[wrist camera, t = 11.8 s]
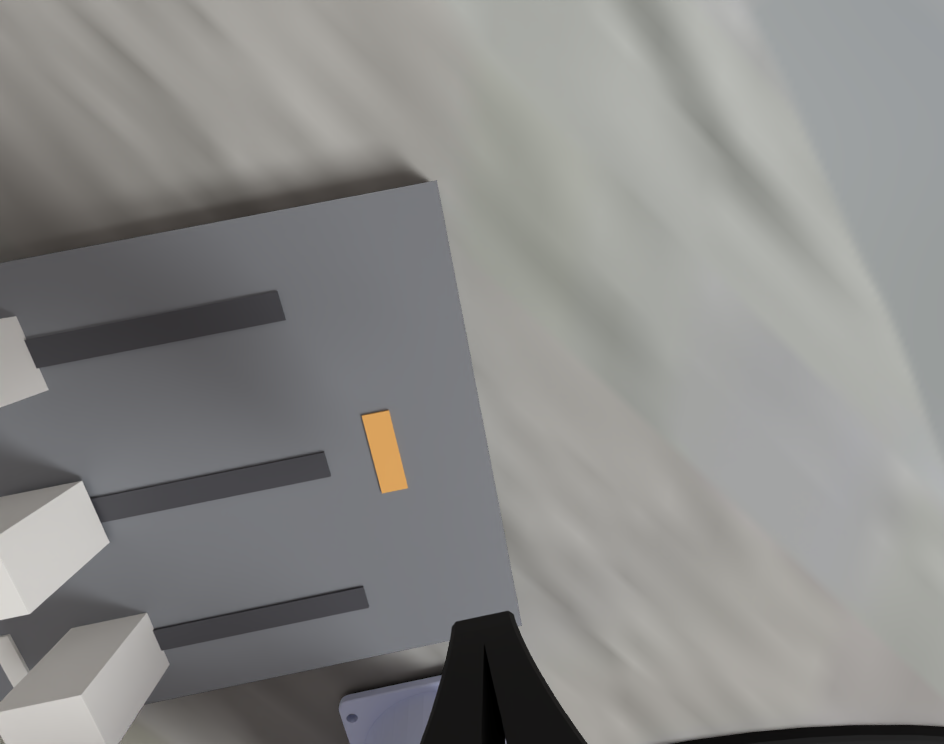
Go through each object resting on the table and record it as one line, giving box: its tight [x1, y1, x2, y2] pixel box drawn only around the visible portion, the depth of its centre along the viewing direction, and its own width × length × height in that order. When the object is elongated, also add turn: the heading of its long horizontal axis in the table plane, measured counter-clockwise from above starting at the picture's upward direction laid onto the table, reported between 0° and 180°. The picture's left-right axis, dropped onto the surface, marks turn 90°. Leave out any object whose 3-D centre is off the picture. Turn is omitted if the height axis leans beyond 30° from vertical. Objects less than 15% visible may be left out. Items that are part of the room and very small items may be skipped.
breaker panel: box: [0, 180, 522, 744], centre depth 17 cm, size 18×24×5 cm
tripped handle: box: [0, 481, 110, 620], centre depth 16 cm, size 3×3×4 cm
